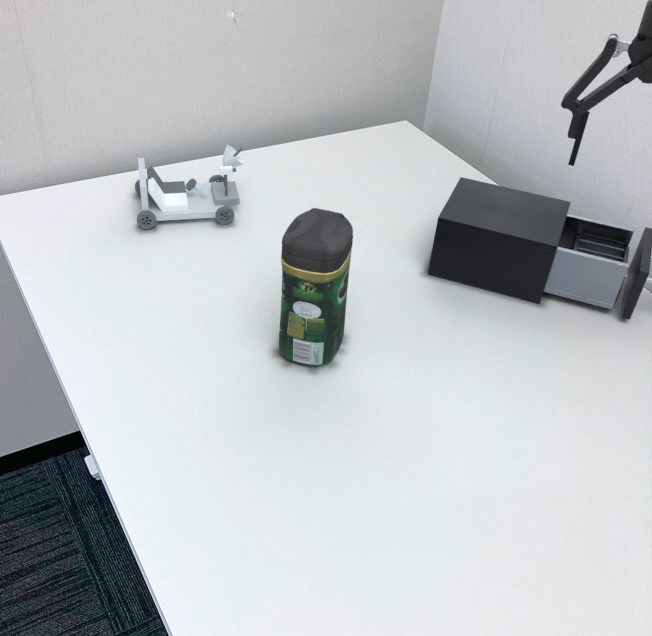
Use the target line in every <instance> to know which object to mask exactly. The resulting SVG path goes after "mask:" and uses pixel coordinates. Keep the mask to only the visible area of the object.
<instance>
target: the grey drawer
mask: <svg viewBox="0 0 652 636" xmlns="http://www.w3.org/2000/svg"><path fill="white" fill-rule="evenodd" d="M634 232H635V228H632V227H629V226H628V227H627V226H623V225H619V224H615V223H610V222H606V221H602V220H597V219H595V218H590V217H585V216H580V215H576V214H572V213H569V212H568V213H567V217H566V220H565V224H564V227H563V230H562V234H561V237H560V241H559V244H558V248H557V251H556V254H555V257H554V260H553V263H552V267H551V270H550V273H549V276H548V279H547V282H546V286H545V289H544V292H543V293H547V294H551V295H555V296H559V297H562V298H567V299H570V300H574V301H578V302H581V303H585V304H589V305H593V306H595V307H601V308H605V309H609V310H613V308H614V305H615V303H616V302H615V300H616V298H617V295H618V293H619V290H620V288H621V285H622V283H623V280H624V278H625V281H626V282H625V286H624V294H623V300H622V306H621V307H622V308H621V315H620V317H621V318H622V319H626V320H631V318H632V315H633V313H634V312H635V311H634V310H635V309H636V306H637V304H638V301H639V299H640V297H641V294H642V291H643V289H644V287H645V284H646V283H647V284H651V285H652V277H650V276H649V275H650V270H651V262H652V228H651V227H646V226H645V227H644V230H643V232H642V235H641V237H640V239H639V242H638V245H637V247H636V249H635V252H634V254H633V257H632V260H631V262H630V263H628V262H627V263H623V262H620V260H619V259H615V258H610V257H606V256H602V255H598V254H594V253H590V252H586V251H581V250H577V251H574V250H572V248H573V245H574V242H575V239H576V236H577V235H581V237H580V239H584V240H588V241H592V242H596V243H600V244H605V245H609V246H613V247H617V248H622V249H625V246H627V247H629V245H630V243H631V241H632V237H633V234H634ZM578 247H581V248H585V249H589V250H593V251H598V252H602V253H606V254H610V255H614V256H618V257H621V256H622V254H623V252H622V251H618V250H614V249H609V248H605V247H601V246H597V245H593V244H588V243H584V242H579V246H578ZM625 275H626V277H625ZM623 284H624V283H623ZM621 289H622V288H621ZM619 294H620V293H619ZM617 299H618V298H617Z"/></svg>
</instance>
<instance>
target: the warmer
mask: <svg viewBox="0 0 652 636" xmlns="http://www.w3.org/2000/svg"><path fill="white" fill-rule="evenodd" d="M570 207H571V201H568V200H564V199H559V198H554V197H550V196H547V195H546V196H545V195H542V194H537V193H532V192H528V191H525V190H520V189H515V188H511V187H507V186H502V185H497V184H493V183H488V182H484V181H480V180H475V179H471V178H467V177H463V176H460V178H459V179H458V181H457V182H456V185H455V187H454V188H453V190H452V192H451V193H450V196H449V197H448V199H447V201H446V203H445V204H444V206H443V208H442V210H441V212H440V214H439V215H438V217H437V222H436V226H435V232H434V238H433V243H432V248H431V253H430V259H429V263H428V269H427V275H428V276H432V277H436V278H440V279H444V280H447V281H451V282H455V283H459V284H462V285H466V286H469V287H470V286H471V287H473V288H477V289H481V290H485V291H489V292H492V293H496V294H500V295H504V296H508V297H512V298H516V299H519V300H523V301H526V302H530V303H535V304H537V305H540V304H541V301H542V299H543V295H544V293H545V292H544V289H545V286H546V282H547V279H548V276H549V273H550V270H551V267H552V263H553V260H554V257H555V254H556V251H557V248H558V244H559V241H560V237H561V234H562V230H563V227H564V224H565V220H566V217H567V213H568V214H569V209H570Z"/></svg>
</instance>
